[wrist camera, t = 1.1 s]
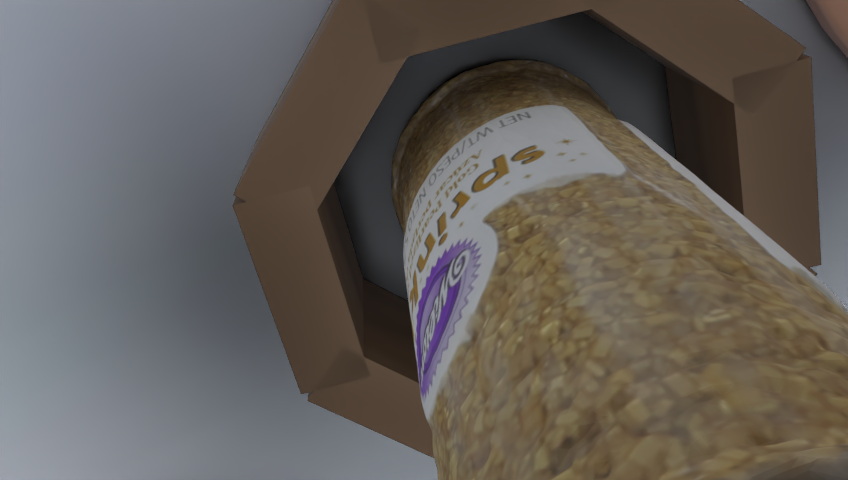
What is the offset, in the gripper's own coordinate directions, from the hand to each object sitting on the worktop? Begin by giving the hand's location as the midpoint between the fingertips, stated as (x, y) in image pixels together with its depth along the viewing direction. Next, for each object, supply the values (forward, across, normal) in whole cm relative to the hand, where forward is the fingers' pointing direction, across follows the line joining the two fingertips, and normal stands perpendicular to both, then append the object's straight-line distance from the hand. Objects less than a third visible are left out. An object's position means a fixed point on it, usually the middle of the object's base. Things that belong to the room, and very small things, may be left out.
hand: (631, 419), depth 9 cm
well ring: (+8, 0, 0) cm, 8 cm away
